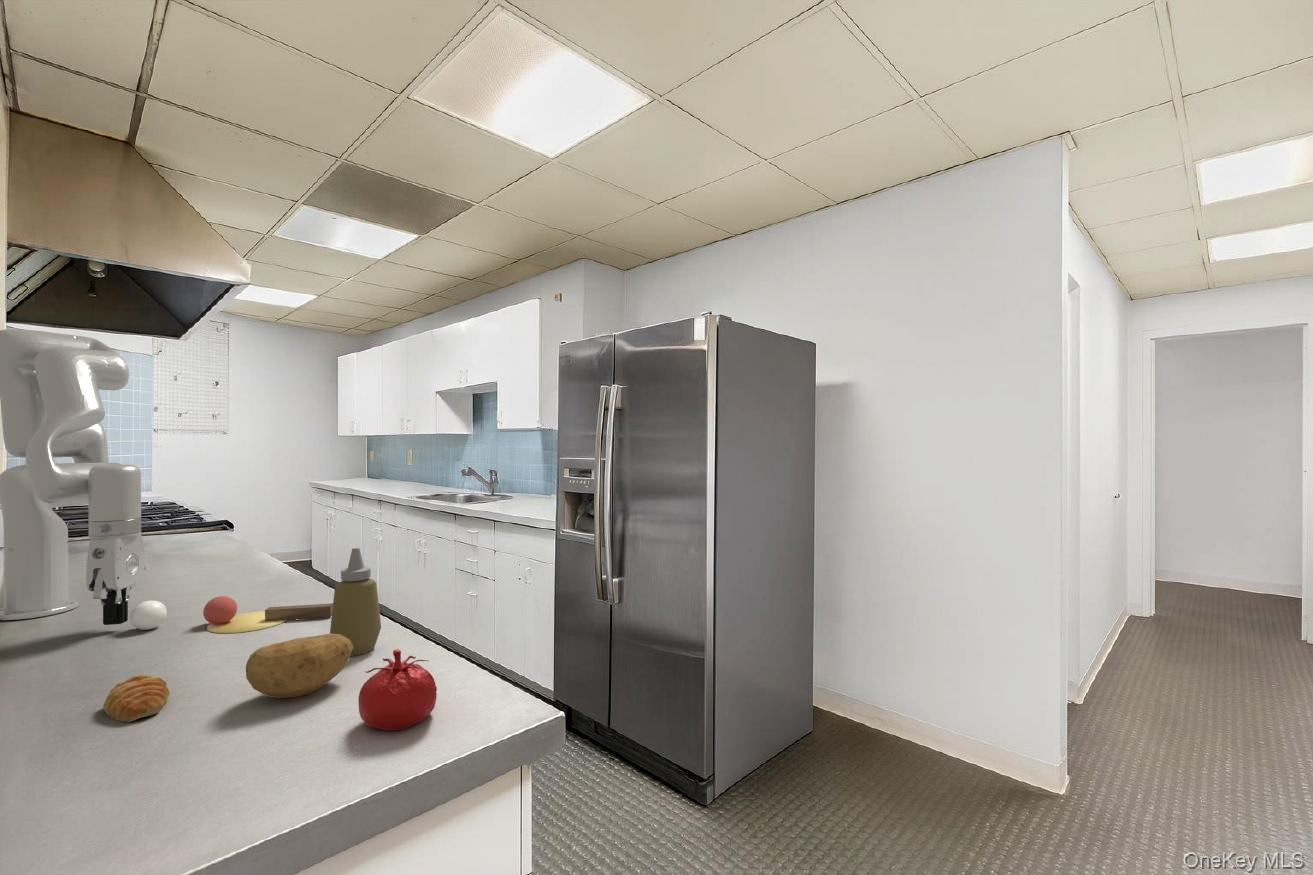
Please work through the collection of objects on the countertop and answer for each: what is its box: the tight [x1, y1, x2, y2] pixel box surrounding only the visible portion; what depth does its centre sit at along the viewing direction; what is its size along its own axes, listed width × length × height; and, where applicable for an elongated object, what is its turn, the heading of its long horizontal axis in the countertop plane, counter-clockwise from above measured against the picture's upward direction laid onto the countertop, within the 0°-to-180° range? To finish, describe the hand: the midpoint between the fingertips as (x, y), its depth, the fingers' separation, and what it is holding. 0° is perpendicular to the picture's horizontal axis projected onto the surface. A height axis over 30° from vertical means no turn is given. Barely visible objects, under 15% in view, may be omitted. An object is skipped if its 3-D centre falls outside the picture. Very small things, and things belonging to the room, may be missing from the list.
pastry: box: [102, 674, 171, 723], centre depth 82 cm, size 9×7×4 cm
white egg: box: [129, 600, 168, 631], centre depth 116 cm, size 6×6×6 cm
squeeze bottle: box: [329, 547, 382, 657], centre depth 104 cm, size 8×8×18 cm
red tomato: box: [357, 649, 438, 731], centre depth 79 cm, size 10×10×9 cm
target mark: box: [206, 610, 287, 634], centre depth 120 cm, size 14×14×1 cm
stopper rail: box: [264, 602, 333, 621], centre depth 122 cm, size 2×12×2 cm, turn 104°
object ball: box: [202, 595, 238, 625], centre depth 119 cm, size 6×6×6 cm
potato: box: [245, 633, 353, 699], centre depth 87 cm, size 10×14×8 cm
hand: (115, 622), depth 115 cm, fingers closed
